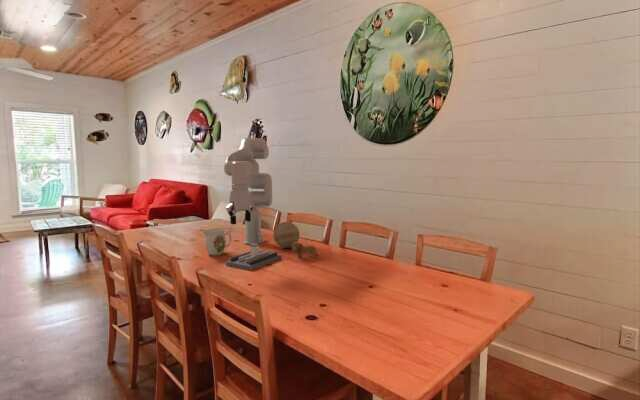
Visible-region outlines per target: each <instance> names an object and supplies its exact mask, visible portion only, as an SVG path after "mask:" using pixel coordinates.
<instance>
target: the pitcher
mask: <svg viewBox="0 0 640 400" xmlns="http://www.w3.org/2000/svg"><path fill="white" fill-rule="evenodd" d="M225 230H226V229H225V228H221V227H220V228H219V227H218V228H208V229H204V230H201V232H202V233H203V234H204V235H205V237H204V246H205V248H206V252H207V253H208V254H209V255H210V256H220V255H222V254H223V253H224V251H225V249H227V248H228V247H229V246H230V245H231V242H232V240H233V239H232V234H231V232H229V231H225ZM226 235H228V236H229V237H228V239H229V240H228V241H227V239H226Z"/></svg>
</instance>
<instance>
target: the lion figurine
mask: <svg viewBox="0 0 640 400" xmlns="http://www.w3.org/2000/svg"><path fill="white" fill-rule="evenodd" d="M291 251H292V252H294V253H295V254H298V256H297V257H298V258H297V259H298V260H302V259H303V257H302V256H303V254H306V253H307V254H308V253H309V254H310V255H309V256H308V258H311V257H312V256H314V257H313V258H314V259H317V258H318V257H319V256H320V255H319V254H318V252H317V249H316V247H315V246H314V245H312V244H311V245H303V244H302V243H299V242H294V243H293V244H292V247H291ZM299 257H300V258H299Z"/></svg>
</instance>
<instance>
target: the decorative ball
mask: <svg viewBox="0 0 640 400" xmlns="http://www.w3.org/2000/svg"><path fill="white" fill-rule="evenodd" d="M299 239H300V231H299V228H298V226H297V225H296V224H294V223H292V222H289V221H285V222H281V223H279V224H278V225H277V226H276V227H275V229H274V231H273V240H274V242H275V243H276V244H277V245H278V247H280V248H283V249H289V248H292V244H293V243H294V242H297V243H299Z"/></svg>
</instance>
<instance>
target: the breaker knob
mask: <svg viewBox="0 0 640 400" xmlns="http://www.w3.org/2000/svg"><path fill="white" fill-rule="evenodd" d="M259 246H260V244H256V243H253V244H249V252H250V257H252V256H255V255H258V254H259V250H260V248H259Z"/></svg>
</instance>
